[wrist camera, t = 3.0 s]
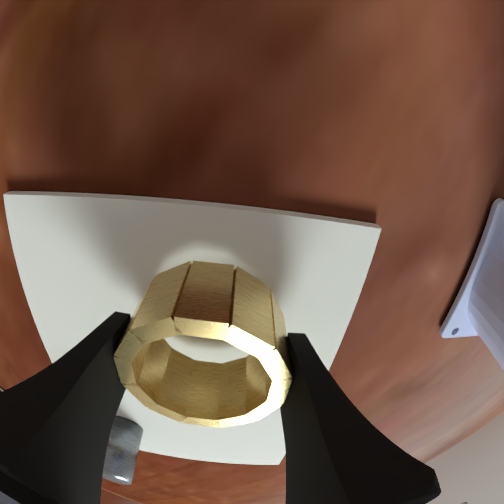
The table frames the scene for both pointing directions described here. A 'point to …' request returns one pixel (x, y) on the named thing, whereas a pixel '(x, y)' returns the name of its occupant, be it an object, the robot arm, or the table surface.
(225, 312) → the ring
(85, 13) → the table surface
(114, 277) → the mat
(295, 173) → the table surface
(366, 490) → the robot arm
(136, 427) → the piston
